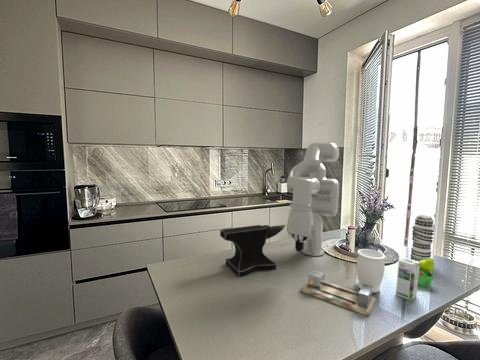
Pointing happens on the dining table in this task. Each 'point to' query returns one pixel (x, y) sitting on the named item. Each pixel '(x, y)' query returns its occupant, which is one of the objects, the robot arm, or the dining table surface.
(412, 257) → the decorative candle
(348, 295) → the gauge board
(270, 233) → the anvil
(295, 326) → the dining table surface
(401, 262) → the syrup box
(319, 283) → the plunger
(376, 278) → the jar
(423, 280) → the fruit basket
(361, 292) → the gauge hardware
